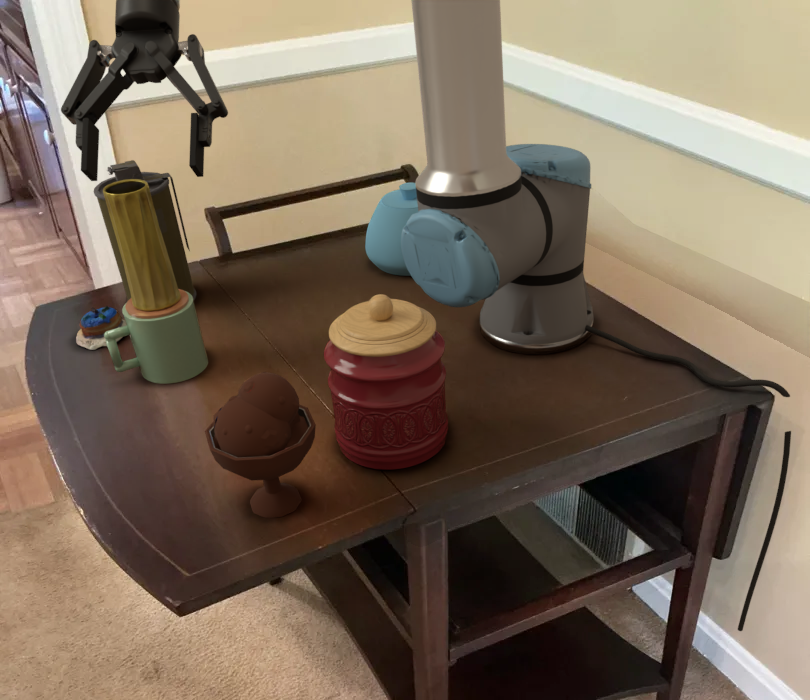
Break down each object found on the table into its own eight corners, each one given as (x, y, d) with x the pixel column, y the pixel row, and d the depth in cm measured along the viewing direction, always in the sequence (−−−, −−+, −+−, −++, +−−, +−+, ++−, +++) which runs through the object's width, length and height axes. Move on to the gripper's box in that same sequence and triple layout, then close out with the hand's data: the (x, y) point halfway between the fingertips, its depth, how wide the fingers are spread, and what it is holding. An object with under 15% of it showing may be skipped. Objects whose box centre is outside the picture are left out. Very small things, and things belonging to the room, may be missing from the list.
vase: (169, 312, 105) (138, 196, 96) (124, 311, 106) (89, 195, 97) (188, 290, 109) (160, 177, 100) (145, 289, 111) (113, 177, 101)
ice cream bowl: (270, 460, 96) (246, 341, 86) (347, 491, 91) (329, 369, 81) (203, 511, 90) (168, 389, 80) (281, 548, 85) (253, 422, 75)
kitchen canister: (315, 437, 99) (292, 296, 87) (403, 396, 104) (392, 258, 93) (380, 488, 91) (364, 340, 79) (472, 440, 96) (469, 295, 85)
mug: (217, 370, 112) (202, 304, 106) (129, 398, 108) (107, 332, 102) (195, 343, 118) (179, 279, 112) (111, 369, 114) (89, 304, 108)
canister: (134, 322, 125) (92, 183, 111) (123, 295, 132) (82, 161, 119) (206, 304, 128) (174, 167, 114) (191, 279, 135) (158, 147, 122)
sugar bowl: (375, 285, 129) (368, 209, 121) (359, 248, 140) (352, 175, 132) (471, 271, 130) (470, 194, 123) (447, 234, 141) (445, 162, 134)
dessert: (109, 312, 126) (110, 288, 121) (138, 345, 126) (140, 322, 120) (63, 337, 122) (62, 313, 117) (93, 370, 122) (93, 349, 117)
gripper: (255, 20, 106) (251, 184, 105) (67, 31, 109) (61, 191, 108) (237, -23, 99) (232, 153, 98) (35, -10, 102) (28, 162, 100)
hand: (142, 173), depth 103 cm, fingers open, 13 cm apart
